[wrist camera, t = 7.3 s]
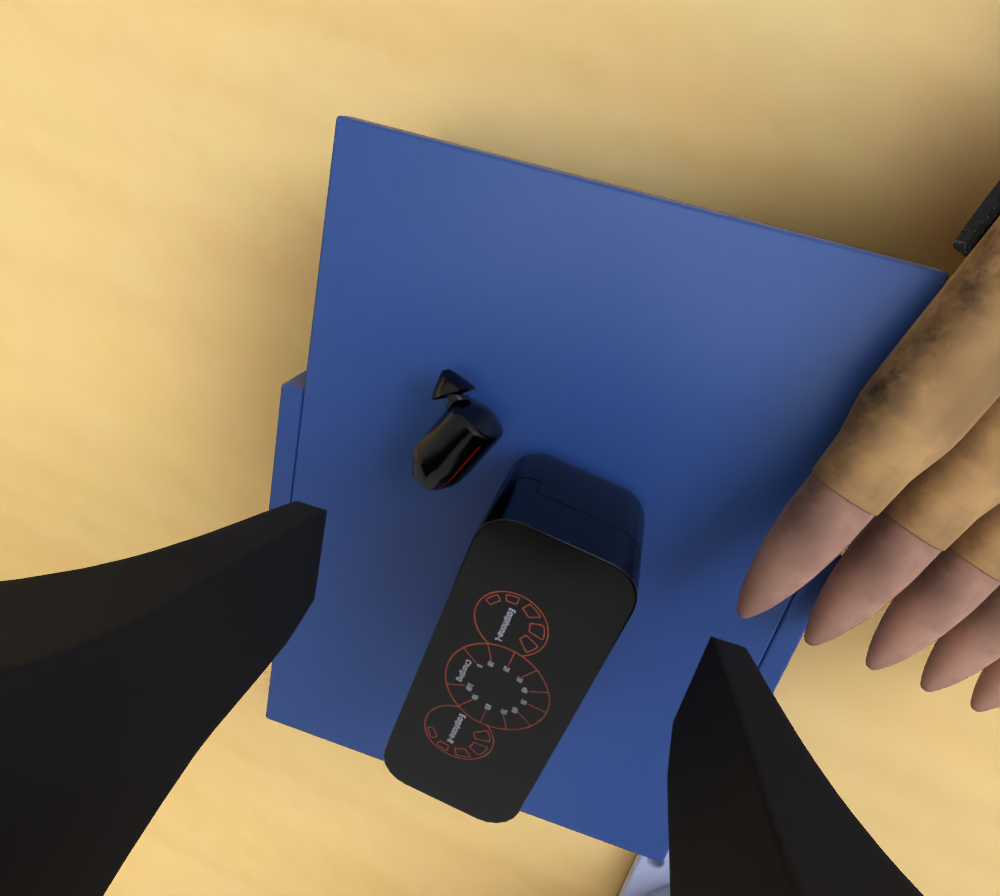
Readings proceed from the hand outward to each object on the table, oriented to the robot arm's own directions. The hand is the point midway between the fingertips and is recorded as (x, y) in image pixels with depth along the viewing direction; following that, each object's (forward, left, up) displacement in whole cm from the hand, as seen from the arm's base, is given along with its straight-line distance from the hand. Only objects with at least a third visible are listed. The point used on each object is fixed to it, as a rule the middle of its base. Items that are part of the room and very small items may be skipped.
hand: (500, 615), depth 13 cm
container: (0, 0, -7) cm, 7 cm away
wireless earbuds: (0, 0, -3) cm, 3 cm away
